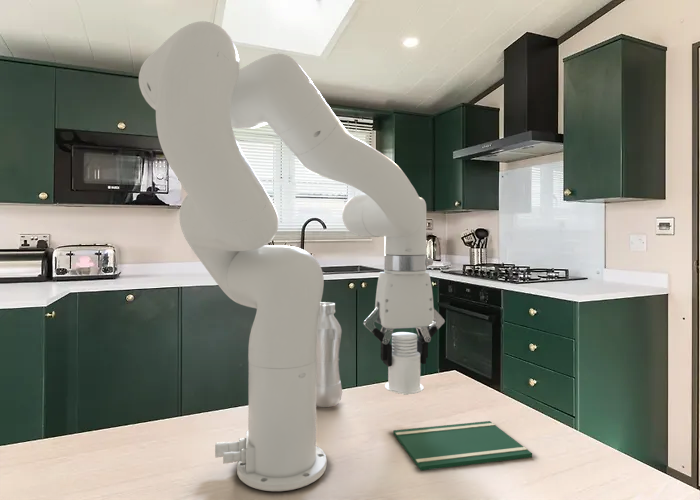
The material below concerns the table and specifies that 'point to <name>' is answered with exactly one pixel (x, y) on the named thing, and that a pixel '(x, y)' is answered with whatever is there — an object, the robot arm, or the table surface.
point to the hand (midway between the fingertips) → (404, 362)
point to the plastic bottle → (328, 357)
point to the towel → (459, 445)
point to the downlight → (404, 365)
